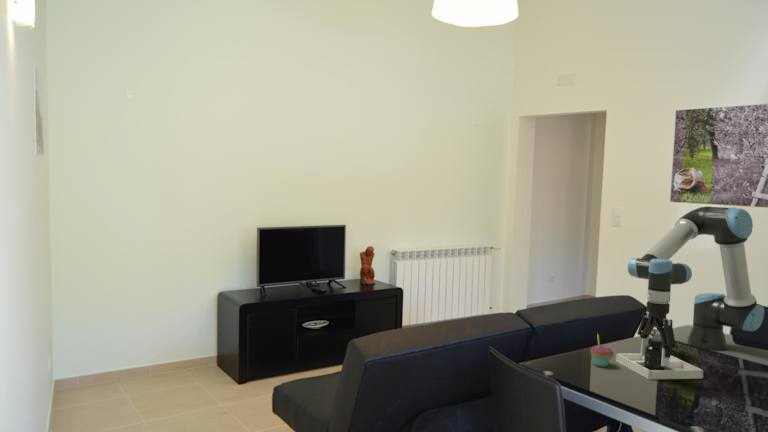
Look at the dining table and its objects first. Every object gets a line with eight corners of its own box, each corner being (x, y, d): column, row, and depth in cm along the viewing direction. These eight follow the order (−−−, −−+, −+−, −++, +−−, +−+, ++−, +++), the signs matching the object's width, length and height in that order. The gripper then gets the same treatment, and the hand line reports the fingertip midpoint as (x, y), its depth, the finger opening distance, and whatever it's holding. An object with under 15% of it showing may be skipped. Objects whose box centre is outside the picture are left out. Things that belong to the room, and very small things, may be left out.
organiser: (665, 360, 234) (665, 353, 233) (703, 378, 213) (703, 370, 212) (615, 361, 230) (616, 353, 230) (649, 379, 209) (649, 371, 209)
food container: (669, 360, 235) (670, 335, 234) (653, 359, 235) (655, 334, 234) (655, 351, 247) (657, 327, 246) (640, 350, 247) (642, 327, 247)
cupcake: (587, 365, 223) (589, 334, 223) (591, 359, 231) (592, 329, 230) (611, 369, 219) (613, 337, 219) (614, 363, 227) (616, 332, 226)
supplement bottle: (639, 369, 218) (641, 337, 217) (656, 368, 219) (658, 336, 218) (651, 375, 211) (652, 342, 210) (668, 374, 213) (670, 341, 212)
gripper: (629, 295, 225) (626, 351, 226) (670, 308, 201) (666, 371, 203) (647, 295, 226) (644, 351, 227) (689, 308, 203) (685, 370, 204)
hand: (654, 360), depth 215 cm, fingers open, 11 cm apart
